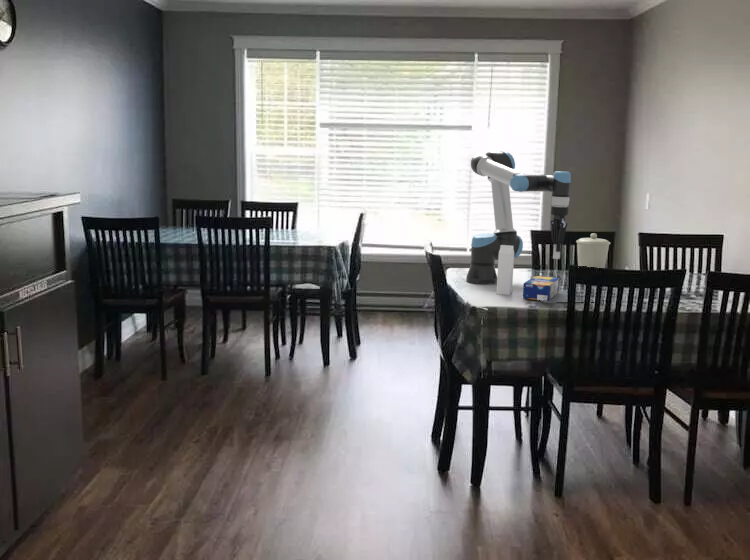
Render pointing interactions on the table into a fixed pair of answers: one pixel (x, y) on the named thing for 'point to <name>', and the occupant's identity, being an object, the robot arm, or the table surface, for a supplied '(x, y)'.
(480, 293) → the table surface
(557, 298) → the mat
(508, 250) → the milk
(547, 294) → the beverage box
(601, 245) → the canister
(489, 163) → the robot arm
